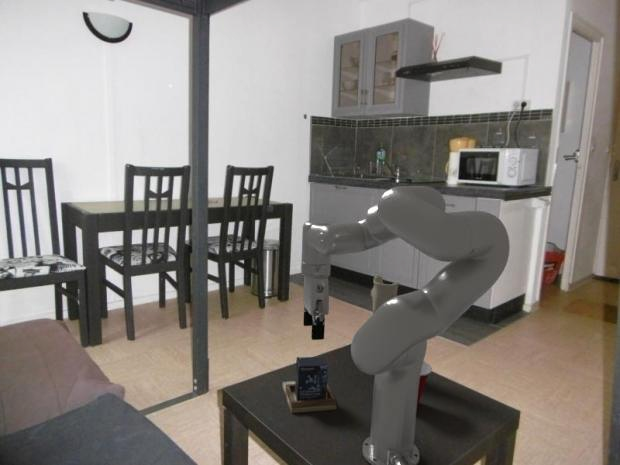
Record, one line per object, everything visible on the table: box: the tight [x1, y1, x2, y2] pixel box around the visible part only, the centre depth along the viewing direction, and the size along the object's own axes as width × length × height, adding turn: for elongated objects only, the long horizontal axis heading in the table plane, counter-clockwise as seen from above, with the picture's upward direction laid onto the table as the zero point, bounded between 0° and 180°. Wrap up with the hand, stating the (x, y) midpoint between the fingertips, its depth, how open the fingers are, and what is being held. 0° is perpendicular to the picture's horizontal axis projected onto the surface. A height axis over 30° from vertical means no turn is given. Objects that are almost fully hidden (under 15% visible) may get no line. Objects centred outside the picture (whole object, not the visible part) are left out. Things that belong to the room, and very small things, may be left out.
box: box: [294, 356, 329, 401], centre depth 121 cm, size 8×6×11 cm
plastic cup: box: [417, 360, 433, 408], centre depth 121 cm, size 11×11×12 cm
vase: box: [370, 275, 400, 315], centre depth 139 cm, size 9×8×30 cm
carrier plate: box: [281, 380, 337, 414], centre depth 124 cm, size 14×12×4 cm
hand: (313, 332), depth 119 cm, fingers open, 9 cm apart
